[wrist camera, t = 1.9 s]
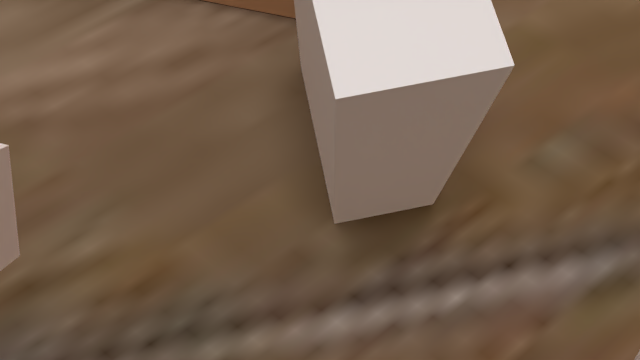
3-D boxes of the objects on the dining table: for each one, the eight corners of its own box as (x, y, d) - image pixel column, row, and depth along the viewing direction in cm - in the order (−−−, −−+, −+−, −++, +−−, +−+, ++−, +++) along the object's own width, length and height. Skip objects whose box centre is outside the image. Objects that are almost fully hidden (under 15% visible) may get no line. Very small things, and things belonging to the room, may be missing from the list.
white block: (334, 223, 27) (335, 99, 15) (301, 67, 30) (278, -145, 18) (437, 203, 27) (521, 64, 15) (393, 50, 30) (434, -170, 18)
